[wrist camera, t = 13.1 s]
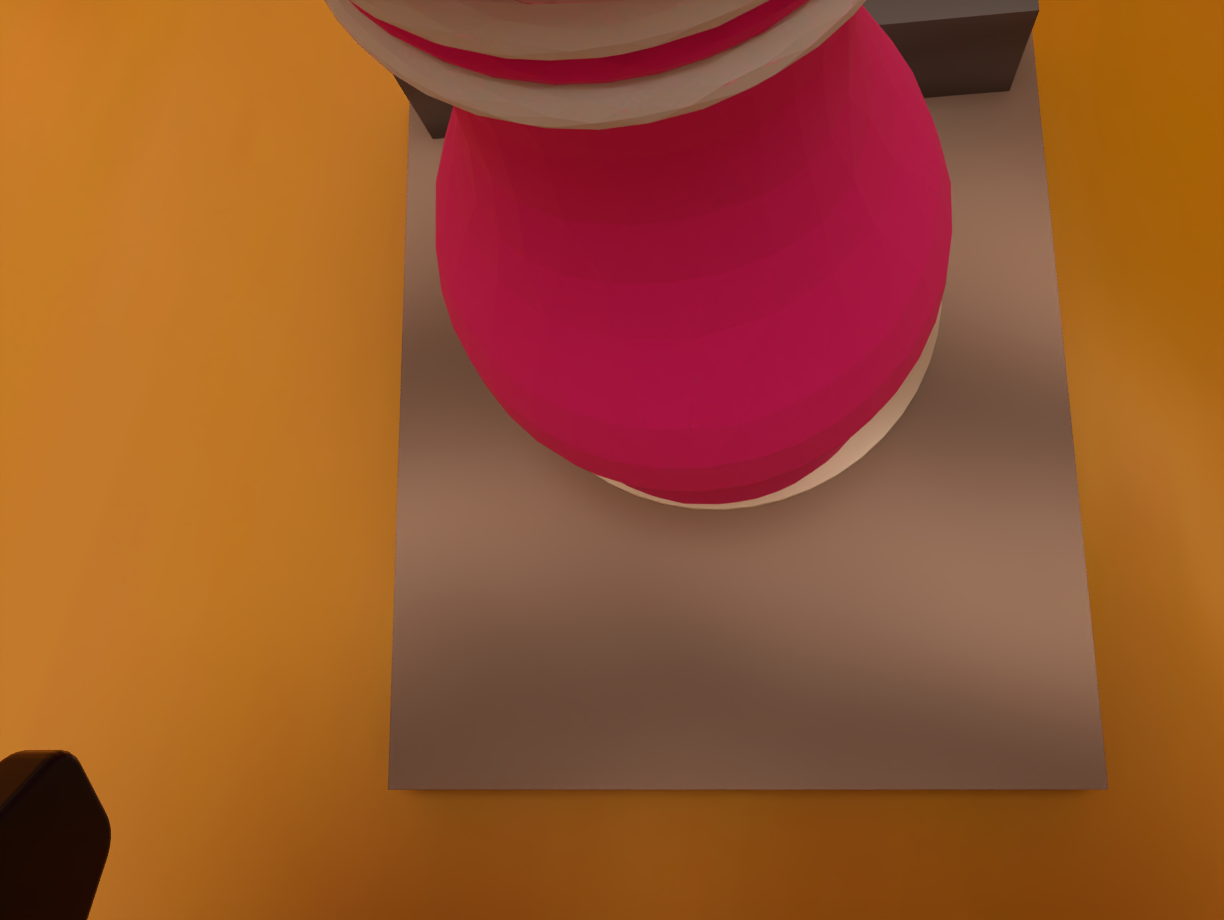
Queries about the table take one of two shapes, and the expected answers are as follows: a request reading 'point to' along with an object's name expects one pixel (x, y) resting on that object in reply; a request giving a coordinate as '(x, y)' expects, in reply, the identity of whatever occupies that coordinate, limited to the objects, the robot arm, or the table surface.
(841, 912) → the table surface
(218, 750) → the table surface
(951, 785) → the flat brown board
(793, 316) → the pepper mill
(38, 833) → the robot arm
